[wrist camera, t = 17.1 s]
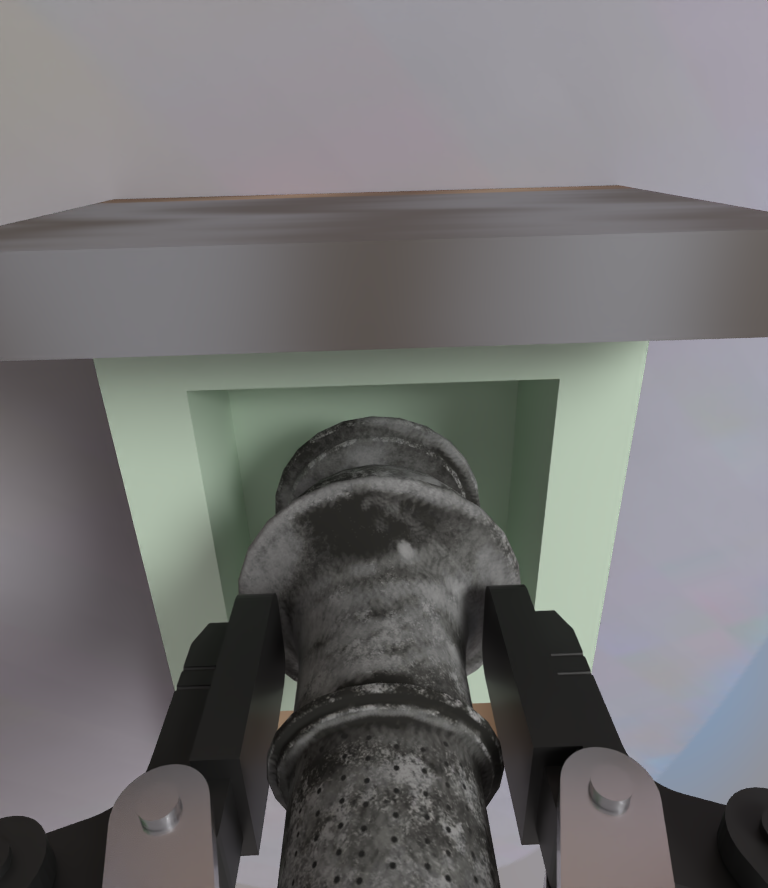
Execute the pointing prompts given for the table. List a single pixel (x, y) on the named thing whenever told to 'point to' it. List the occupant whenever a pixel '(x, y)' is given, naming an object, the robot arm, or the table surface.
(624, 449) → the slider block
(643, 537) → the table surface
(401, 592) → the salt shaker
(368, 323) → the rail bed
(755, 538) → the table surface
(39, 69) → the table surface
